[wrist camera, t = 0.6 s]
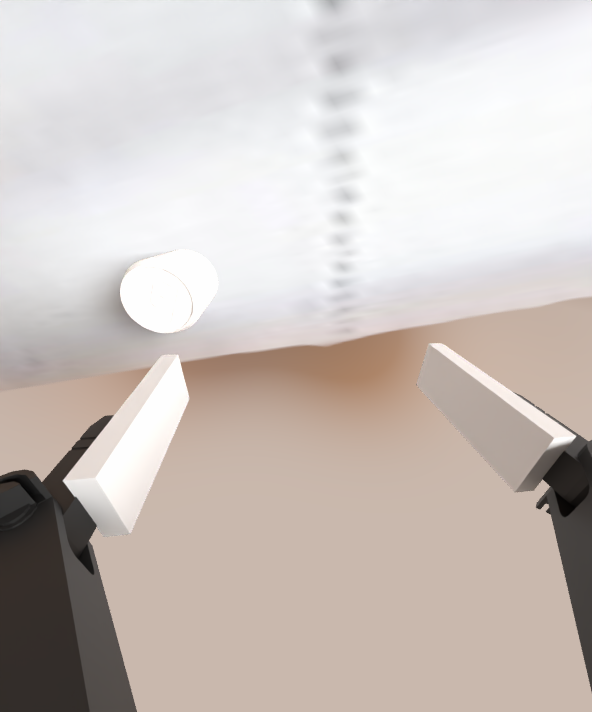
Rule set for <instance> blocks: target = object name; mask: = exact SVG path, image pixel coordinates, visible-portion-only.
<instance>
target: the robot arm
mask: <svg viewBox="0 0 592 712" xmlns="http://www.w3.org/2000/svg"><path fill="white" fill-rule="evenodd" d="M416 385H417V386H418V388H420V390H421V391H422V392H423V393H424V394H425V395H426V396H427V397H428V398H429V400H430V401H431V402H432V403H433V404H434V405H435V406H436V407H437V408H438V409H439V410H440V412H441V413H442V414H443V415H444V416H445V417H446V418H447V419H448V420H449V421H450V422H451V423H452V424H453V426H454V427H455V428H456V429H457V430H458V431H459V432H460V433H461V434H462V435H463V436H464V438H465V439H466V440H467V441H468V442H469V443H470V444H471V445H472V446H473V447H474V449H475V450H476V451H477V452H478V453H479V454H480V455H481V456H482V457H483V458H484V459H485V461H486V462H487V463H488V464H489V465H490V466H491V467H492V468H493V469H494V470H495V471H496V472H497V473H498V475H499V476H500V477H501V478H502V479H503V480H504V481H505V482H506V483H507V485H508V486H509V487H510V488H511V489H512V490H513V491H514V492H523V491H532V490H534V489H535V488H536V487H537V485H538V484H539V483H540V482H541V481H542V479H543V480H544V481H545V482H546V483H547V484H549V486H551V487H550V488H549V489H548V490H547V491H546V493H545V494H544V495H543V496H542V497H541V499H540V500H539V501H538V502H537V505H536V508H538V509H541V508H542V507H543V506H544V504H549V508H548V510H547V511H546V512H547V513H549V514H551V517H552V521H553V525H554V530H555V534H556V539H557V543H558V547H559V552H560V556H561V560H562V564H563V569H564V573H565V577H566V582H567V586H568V591H569V595H570V599H571V604H572V608H573V612H574V617H575V621H576V626H577V630H578V634H579V639H580V643H581V647H582V652H583V656H584V660H585V664H586V669H587V673H588V677H589V682H590V686H591V691H592V440H591V441H587V440H585V439H584V438H583V437H581V436H580V435H578V434H577V433H575V432H574V431H572V430H571V429H569V428H568V427H566V426H565V425H564V424H562V423H561V422H559V421H558V420H556V419H555V418H553V417H552V416H550V415H549V414H545V412H544V411H543V410H542V409H540V408H539V407H537V406H534V404H532V403H531V402H530V401H528V400H527V399H525V398H524V397H522V396H521V395H518V394H516V393H514V392H512V391H510V390H509V389H507V388H506V387H504V386H503V385H502V384H500V383H499V382H497V381H496V380H494V379H493V378H491V377H490V376H489V375H487V374H486V373H484V372H483V371H481V370H480V369H479V368H477V367H476V366H474V365H473V364H471V363H470V362H468V361H467V360H465V359H464V358H463V357H461V356H460V355H458V354H457V353H455V352H454V351H452V350H451V349H450V348H448V347H447V346H445V345H444V344H442V343H433V344H428V348H427V351H426V355H425V358H424V361H423V364H422V368H421V371H420V374H419V378H418V381H417V384H416ZM188 401H189V395H188V391H187V387H186V383H185V379H184V376H183V372H182V368H181V364H180V360H179V356H178V354H176V355H161V357H160V358H159V359H158V360H157V362H156V363H155V364H154V366H153V367H152V368H151V369H150V371H149V372H148V373H147V375H146V376H145V377H144V378H143V380H142V381H141V382H140V383H139V385H138V386H137V387H136V389H135V390H134V391H133V392H132V393H131V395H130V396H129V397H128V399H127V400H126V401H125V403H124V404H123V405H122V406H121V407H120V409H119V410H118V411H117V413H116V414H115V415H112V416H104V417H103V418H101V419H100V420H99V421H97V422H96V423H94V424H93V425H91V426H90V428H89V429H88V430H87V431H86V432H85V433H84V434H83V435H82V437H81V438H80V440H79V441H77V442H76V444H75V445H74V446H73V447H72V450H71V451H69V452H68V453H67V454H66V455H65V456H64V458H63V459H62V460H61V461H60V462H59V463H58V464H57V466H56V467H55V468H54V469H53V470H52V471H51V473H50V474H49V475H48V476H47V477H46V478H45V480H44V481H43V482H41V481H40V479H39V478H38V477H37V476H36V474H35V473H34V472H33V471H29V470H19V471H13V472H10V473H7V474H5V475H2V476H0V712H137V710H136V706H135V703H134V699H133V695H132V692H131V688H130V684H129V680H128V677H127V673H126V669H125V666H124V662H123V658H122V654H121V651H120V647H119V643H118V640H117V636H116V632H115V628H114V625H113V621H112V617H111V614H110V610H109V606H108V602H107V599H106V595H105V591H104V587H103V584H102V580H101V577H100V573H99V569H98V565H97V561H96V558H95V554H94V550H93V547H92V545H91V543H90V542H89V539H90V538H91V536H92V534H93V532H94V530H95V529H96V527H97V528H98V530H99V531H100V532H101V534H102V535H103V537H109V536H118V535H127V534H130V533H131V531H132V529H133V527H134V524H135V522H136V520H137V518H138V515H139V513H140V511H141V508H142V506H143V504H144V502H145V499H146V497H147V495H148V492H149V490H150V488H151V486H152V483H153V481H154V479H155V476H156V474H157V472H158V469H159V467H160V465H161V463H162V460H163V458H164V456H165V453H166V451H167V449H168V447H169V444H170V442H171V440H172V437H173V435H174V433H175V431H176V428H177V426H178V424H179V421H180V419H181V417H182V415H183V412H184V410H185V408H186V405H187V403H188Z"/></svg>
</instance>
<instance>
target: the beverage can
mask: <svg viewBox="0 0 592 712" xmlns="http://www.w3.org/2000/svg"><path fill="white" fill-rule="evenodd" d="M217 289H218V278H217V274H216V271H215V269H214V268H213V266H212V264H211V263H210V262H209V261H208V260H207V259H206V258H205V257H204V256H202V255H201V254H199V253H197V252H195V251H191V250H186V249H180V250H175V251H171V252H168V253H164V254H160V255H157V256H153V257H149V258H146V259H142V260H140V261H138V262H136V263H134V264H133V265H132V266H130V267H129V269H128V270H127V271H126V273H125V275H124V277H123V280H122V283H121V287H120V297H121V301H122V304H123V306H124V308H125V310H126V312H127V313H128V314H129V316H130V317H131V318H132V319H133V320H134V321H135V322H136V323H138V324H139V325H141V326H142V327H144V328H146V329H148V330H151V331H154V332H158V333H174V332H180V331H183V330H186V329H188V328H189V327H191V326H192V325H193V324H194V323H195V322H196V321H197V320H198V319H199V317H200V316H201V314H202V313H203V312H204V310H205V309H206V308H207V306H208V305H209V303H210V302H211V301H212V299H213V298H214V296H215V295H216V292H217Z"/></svg>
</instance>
